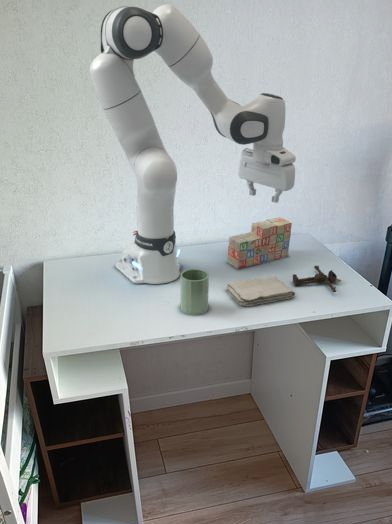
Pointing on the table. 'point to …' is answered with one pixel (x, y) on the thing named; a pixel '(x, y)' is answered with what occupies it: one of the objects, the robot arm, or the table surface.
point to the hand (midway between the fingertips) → (263, 198)
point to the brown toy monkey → (318, 279)
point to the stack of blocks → (260, 243)
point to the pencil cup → (194, 291)
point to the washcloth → (259, 291)
